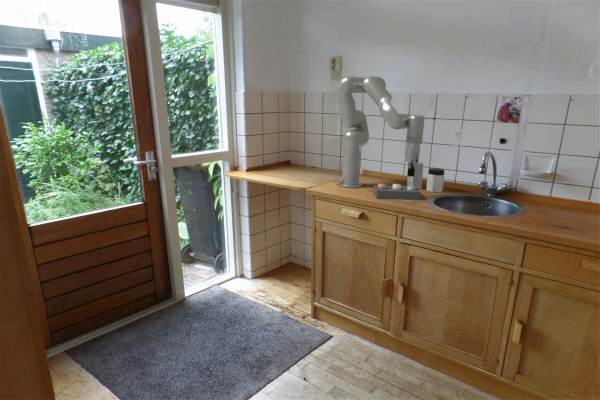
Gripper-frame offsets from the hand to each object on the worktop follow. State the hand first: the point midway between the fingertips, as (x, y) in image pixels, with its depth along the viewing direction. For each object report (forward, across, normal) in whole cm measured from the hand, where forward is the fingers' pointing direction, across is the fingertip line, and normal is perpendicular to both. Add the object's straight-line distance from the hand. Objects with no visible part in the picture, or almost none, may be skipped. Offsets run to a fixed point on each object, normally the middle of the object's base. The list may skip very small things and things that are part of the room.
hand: (410, 176), depth 201 cm
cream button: (+8, 0, -7) cm, 11 cm away
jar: (+11, -15, +18) cm, 25 cm away
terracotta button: (+8, 0, -14) cm, 16 cm away
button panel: (+11, 0, -6) cm, 13 cm away
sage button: (+9, 0, +1) cm, 9 cm away
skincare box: (+11, -21, +8) cm, 25 cm away
